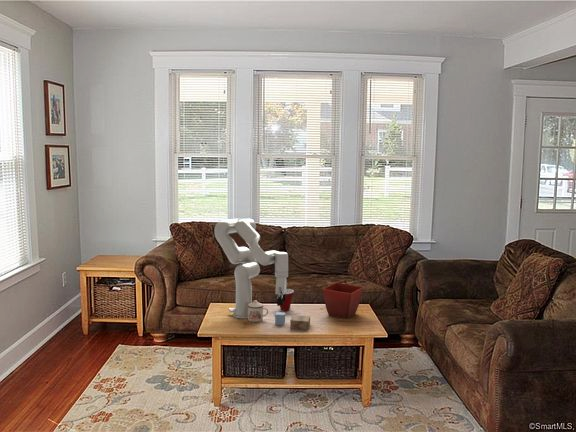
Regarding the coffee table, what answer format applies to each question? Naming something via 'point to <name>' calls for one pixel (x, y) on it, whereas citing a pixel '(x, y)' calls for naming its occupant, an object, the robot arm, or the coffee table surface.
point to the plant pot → (342, 299)
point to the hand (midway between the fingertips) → (281, 303)
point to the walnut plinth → (300, 322)
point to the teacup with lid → (256, 311)
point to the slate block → (279, 318)
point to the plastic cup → (287, 300)
